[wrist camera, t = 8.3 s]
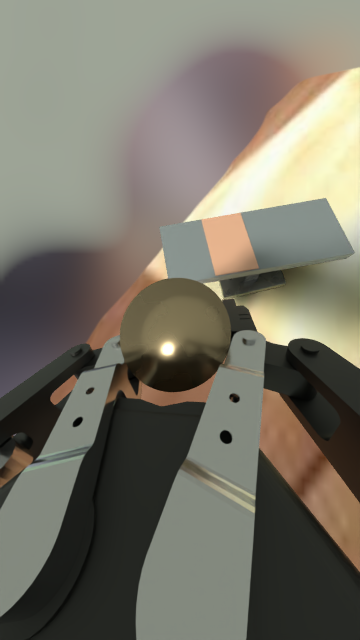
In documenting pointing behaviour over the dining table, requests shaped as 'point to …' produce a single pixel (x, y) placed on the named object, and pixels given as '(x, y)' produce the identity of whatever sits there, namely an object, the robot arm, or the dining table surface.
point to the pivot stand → (251, 284)
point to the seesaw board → (254, 242)
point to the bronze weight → (175, 334)
